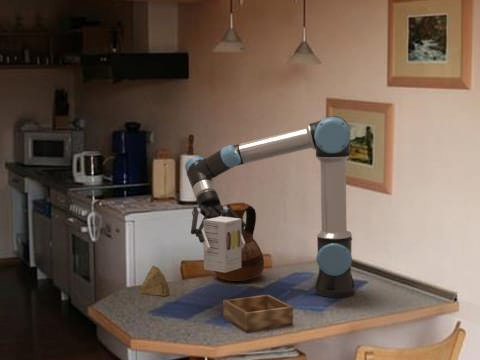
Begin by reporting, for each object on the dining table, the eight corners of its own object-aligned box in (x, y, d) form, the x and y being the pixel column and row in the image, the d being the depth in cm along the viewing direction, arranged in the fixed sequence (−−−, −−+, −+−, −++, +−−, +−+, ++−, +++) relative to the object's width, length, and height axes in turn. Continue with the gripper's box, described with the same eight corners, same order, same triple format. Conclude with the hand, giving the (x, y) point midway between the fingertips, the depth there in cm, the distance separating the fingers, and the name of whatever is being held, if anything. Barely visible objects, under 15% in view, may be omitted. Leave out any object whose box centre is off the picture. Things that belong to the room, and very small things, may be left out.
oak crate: (268, 312, 272) (268, 294, 271) (292, 325, 257) (293, 307, 257) (223, 318, 265) (223, 300, 264) (246, 332, 250) (246, 313, 249)
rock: (177, 288, 293) (166, 279, 301) (165, 272, 289) (154, 263, 297) (155, 309, 290) (144, 298, 298) (142, 293, 286) (131, 283, 294)
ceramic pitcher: (202, 279, 315) (202, 203, 311) (232, 270, 332) (233, 197, 328) (244, 287, 304) (244, 208, 300) (273, 276, 320) (274, 201, 317)
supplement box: (225, 273, 265) (224, 222, 263) (203, 269, 270) (202, 219, 268) (242, 267, 272) (242, 218, 270) (220, 264, 278) (219, 215, 276)
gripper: (234, 200, 288) (254, 250, 276) (170, 205, 277) (188, 257, 266) (241, 187, 282) (262, 237, 271) (176, 191, 272) (194, 244, 260)
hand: (225, 247), depth 268 cm, fingers closed on supplement box, 12 cm apart
